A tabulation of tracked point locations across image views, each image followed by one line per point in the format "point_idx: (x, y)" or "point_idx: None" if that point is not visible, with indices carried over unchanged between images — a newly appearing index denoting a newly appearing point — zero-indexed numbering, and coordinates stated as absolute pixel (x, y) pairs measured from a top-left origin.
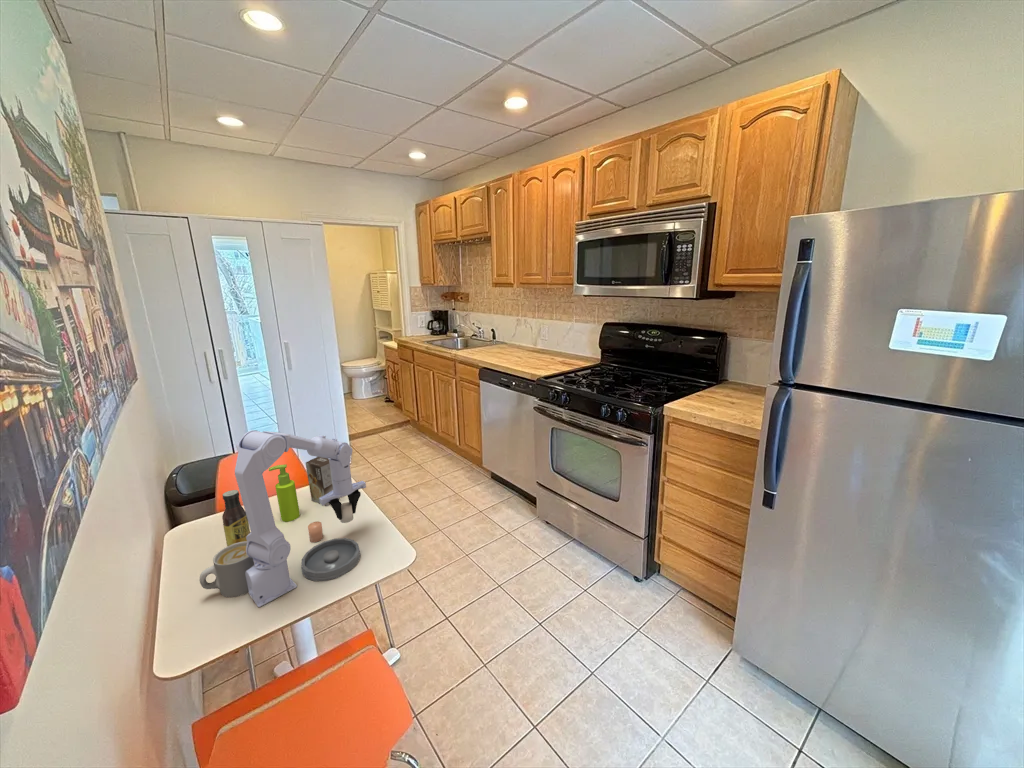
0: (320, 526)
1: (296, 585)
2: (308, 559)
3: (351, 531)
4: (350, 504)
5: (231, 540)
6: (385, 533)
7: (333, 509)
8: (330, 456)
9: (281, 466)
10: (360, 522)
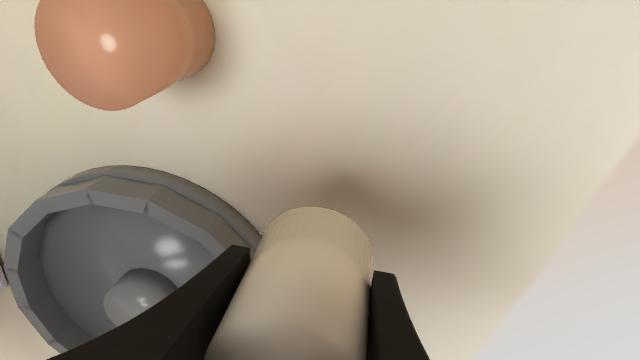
0: (138, 102)
1: (2, 289)
2: (61, 210)
3: (367, 169)
4: None
5: None
6: (458, 340)
7: (162, 301)
8: None
9: None
10: (483, 134)
